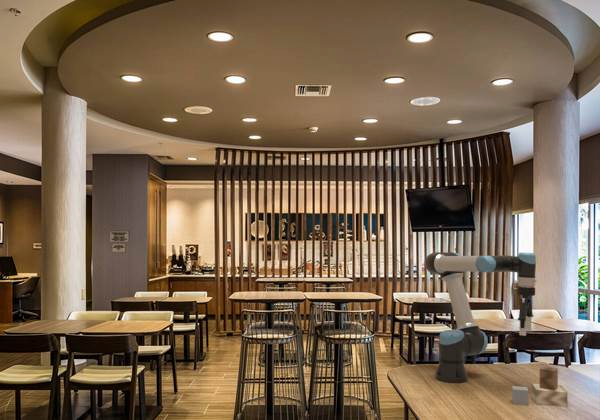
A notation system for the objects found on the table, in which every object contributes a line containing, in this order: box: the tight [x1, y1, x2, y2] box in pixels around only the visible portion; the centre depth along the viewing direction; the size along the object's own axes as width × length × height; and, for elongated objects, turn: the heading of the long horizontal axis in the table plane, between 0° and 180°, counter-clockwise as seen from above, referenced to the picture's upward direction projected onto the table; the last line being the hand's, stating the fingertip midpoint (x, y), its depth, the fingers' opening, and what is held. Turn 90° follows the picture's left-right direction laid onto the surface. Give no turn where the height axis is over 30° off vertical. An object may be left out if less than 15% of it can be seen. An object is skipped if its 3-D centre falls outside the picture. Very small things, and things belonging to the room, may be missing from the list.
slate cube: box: [511, 385, 530, 406], centre depth 240 cm, size 6×6×6 cm
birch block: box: [531, 383, 569, 408], centre depth 243 cm, size 12×12×6 cm
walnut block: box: [539, 366, 559, 390], centre depth 243 cm, size 6×6×8 cm
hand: (525, 333), depth 260 cm, fingers open, 13 cm apart
